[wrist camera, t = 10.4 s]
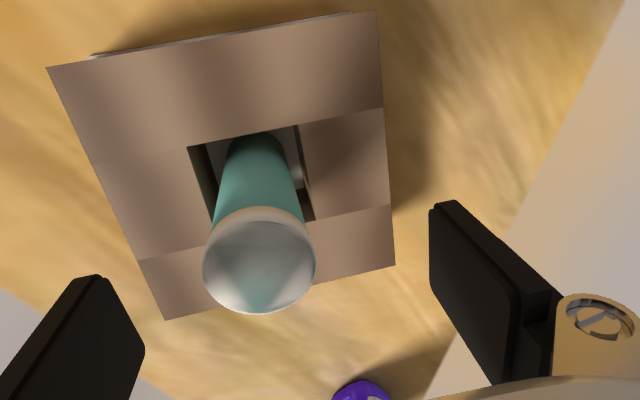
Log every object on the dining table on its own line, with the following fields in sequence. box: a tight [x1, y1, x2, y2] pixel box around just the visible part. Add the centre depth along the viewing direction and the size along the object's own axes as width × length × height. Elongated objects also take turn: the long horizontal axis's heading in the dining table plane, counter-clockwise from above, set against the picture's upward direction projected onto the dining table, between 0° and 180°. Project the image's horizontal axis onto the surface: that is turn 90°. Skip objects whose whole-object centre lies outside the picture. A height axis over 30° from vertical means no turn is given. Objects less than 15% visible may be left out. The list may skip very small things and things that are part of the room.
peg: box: [202, 131, 317, 315], centre depth 17 cm, size 4×4×12 cm
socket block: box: [45, 10, 396, 321], centre depth 20 cm, size 14×14×5 cm
